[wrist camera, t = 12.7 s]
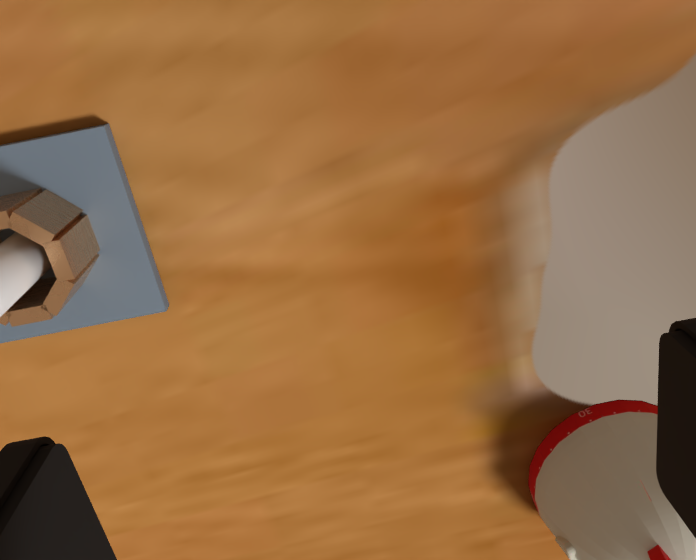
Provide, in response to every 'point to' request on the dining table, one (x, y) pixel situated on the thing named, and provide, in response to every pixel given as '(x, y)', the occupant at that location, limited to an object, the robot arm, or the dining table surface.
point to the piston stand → (106, 220)
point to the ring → (49, 251)
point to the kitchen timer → (607, 487)
